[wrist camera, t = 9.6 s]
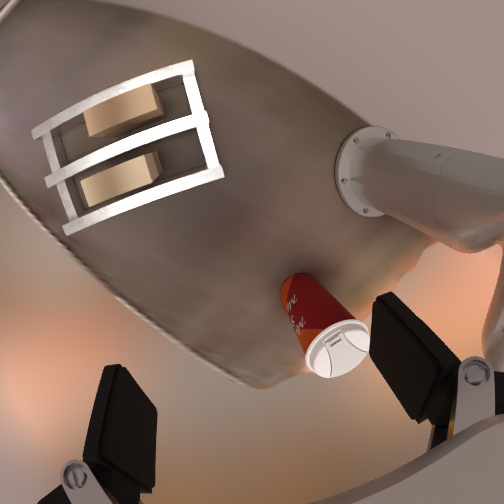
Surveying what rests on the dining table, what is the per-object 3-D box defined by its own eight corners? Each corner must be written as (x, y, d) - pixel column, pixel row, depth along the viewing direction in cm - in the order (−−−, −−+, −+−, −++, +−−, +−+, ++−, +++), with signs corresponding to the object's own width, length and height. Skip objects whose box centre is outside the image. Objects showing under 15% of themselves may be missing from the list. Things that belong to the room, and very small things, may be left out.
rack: (191, 70, 25) (191, 59, 21) (219, 171, 30) (224, 177, 26) (49, 130, 24) (31, 130, 19) (80, 223, 29) (66, 236, 25)
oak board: (161, 98, 26) (150, 82, 18) (166, 117, 27) (157, 108, 19) (111, 117, 25) (82, 111, 17) (116, 136, 26) (89, 136, 18)
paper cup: (262, 287, 38) (298, 358, 25) (309, 255, 37) (364, 313, 25) (287, 322, 41) (325, 390, 28) (330, 293, 41) (380, 353, 28)
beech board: (156, 150, 28) (143, 154, 20) (162, 170, 29) (152, 182, 21) (108, 169, 27) (80, 181, 19) (114, 188, 28) (89, 207, 20)
